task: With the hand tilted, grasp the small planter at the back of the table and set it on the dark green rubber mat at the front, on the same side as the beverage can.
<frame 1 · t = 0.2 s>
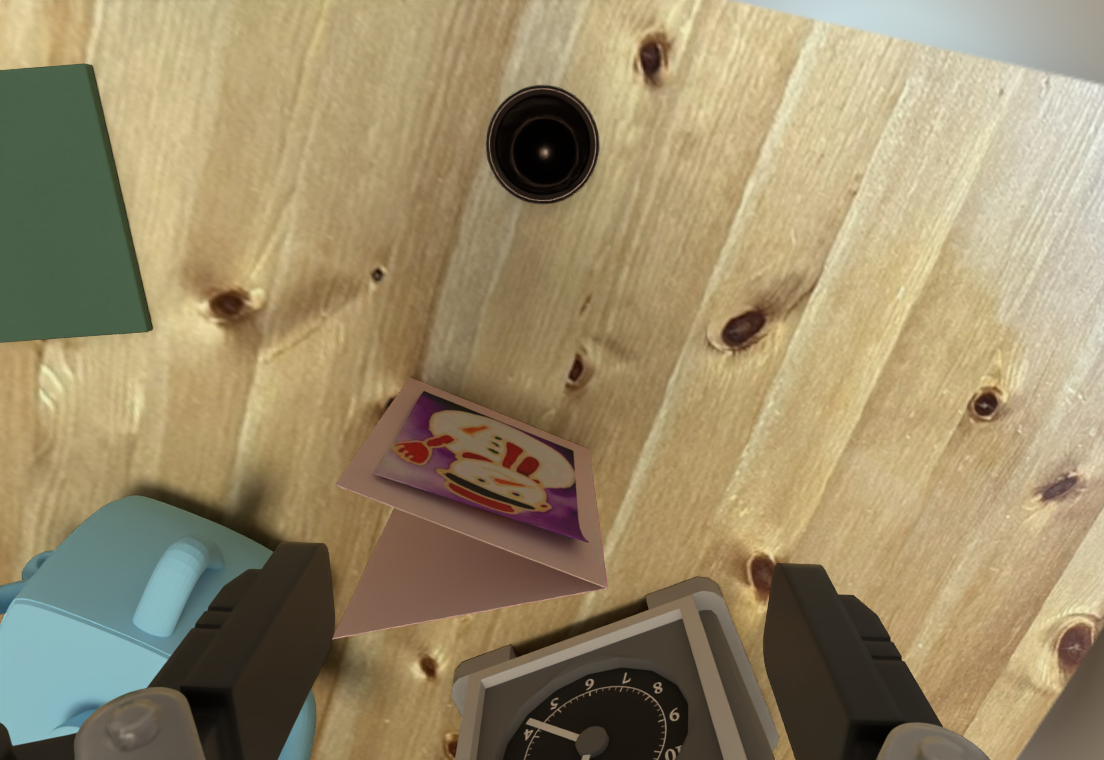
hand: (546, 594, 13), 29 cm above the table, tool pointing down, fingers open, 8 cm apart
greeting card: (483, 454, 44), on the table
teapot: (233, 602, 46), on the table
green mat: (15, 212, 39), on the table
planter: (545, 152, 39), on the table
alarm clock: (614, 697, 48), on the table
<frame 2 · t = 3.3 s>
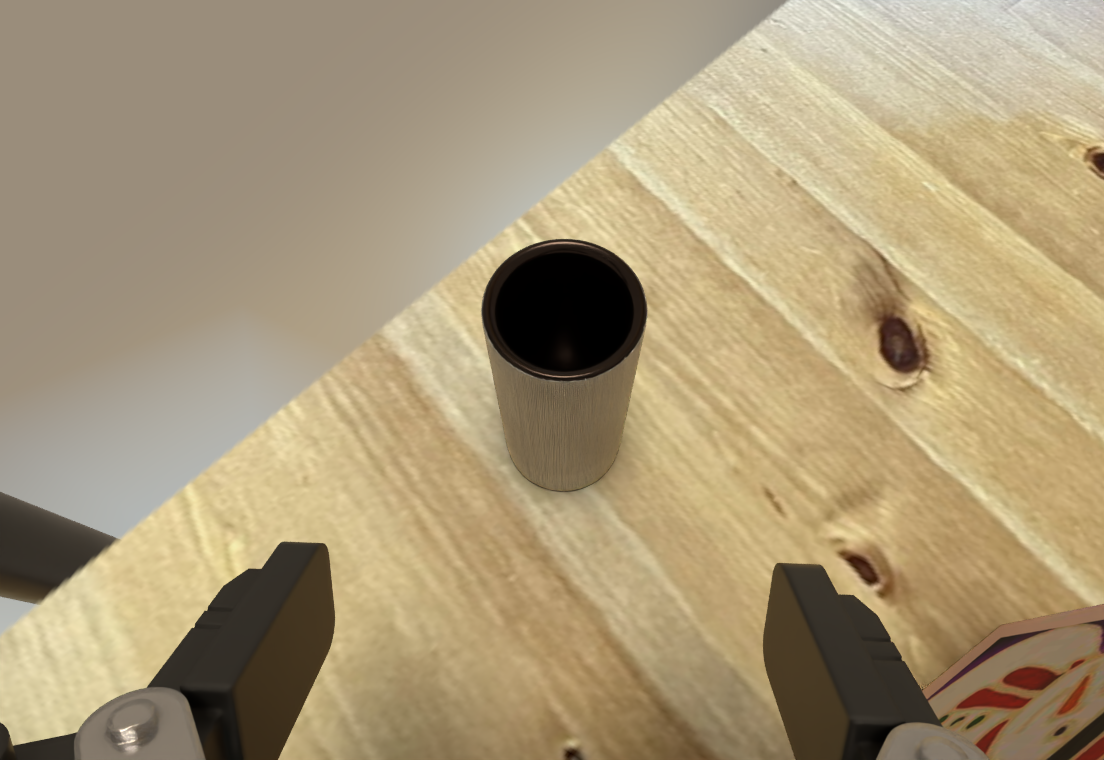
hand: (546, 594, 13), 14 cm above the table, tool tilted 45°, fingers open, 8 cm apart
planter: (563, 439, 29), on the table
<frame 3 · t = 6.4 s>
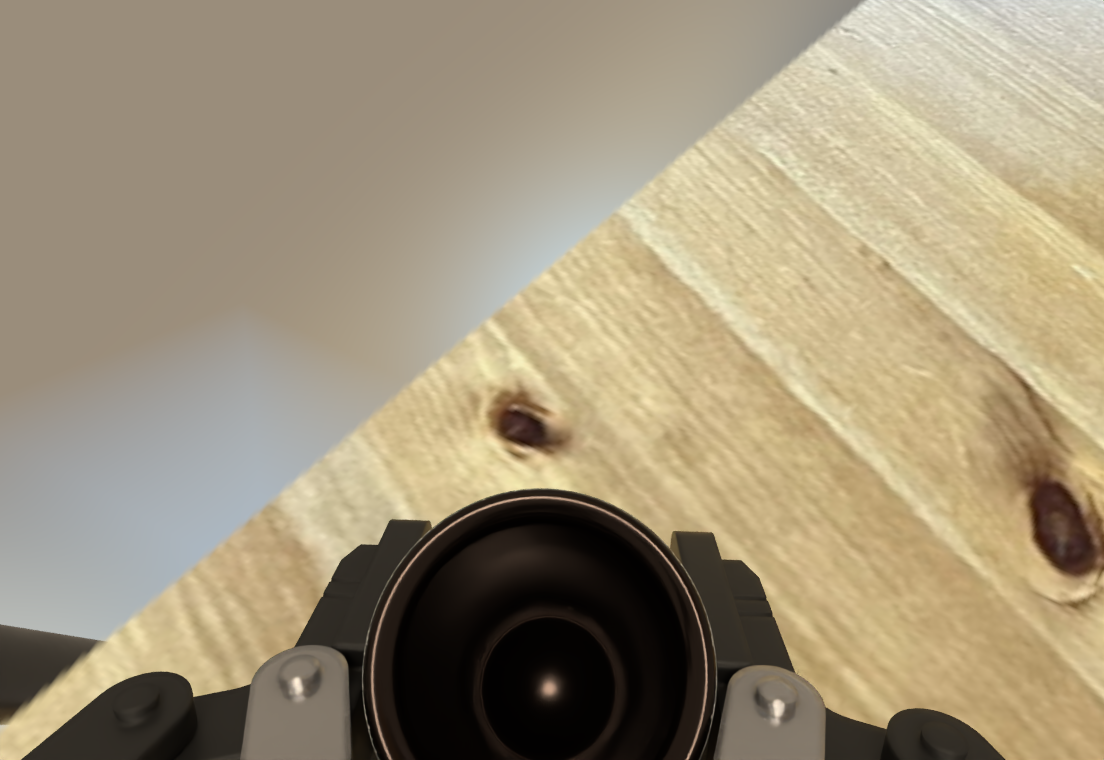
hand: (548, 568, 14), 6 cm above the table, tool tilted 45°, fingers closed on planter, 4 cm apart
planter: (549, 688, 19), on the table, touching gripper
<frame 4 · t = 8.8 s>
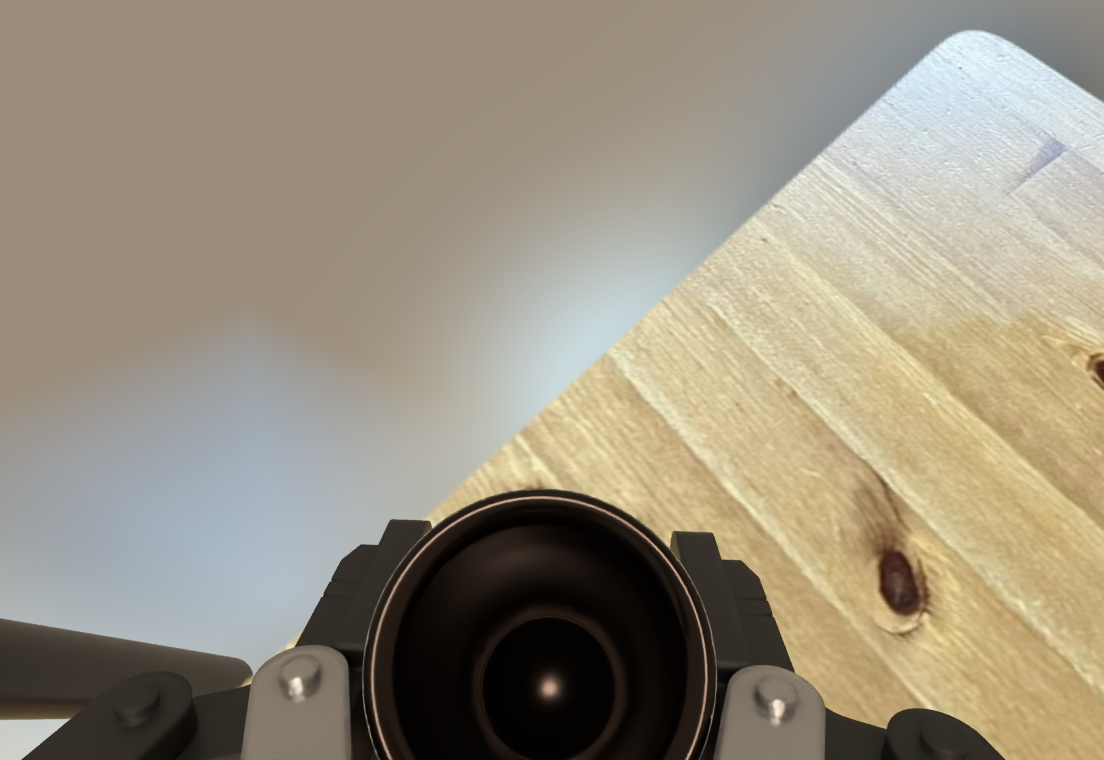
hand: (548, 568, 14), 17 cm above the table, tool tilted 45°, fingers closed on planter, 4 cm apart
planter: (549, 688, 19), point 11 cm above the table, touching gripper
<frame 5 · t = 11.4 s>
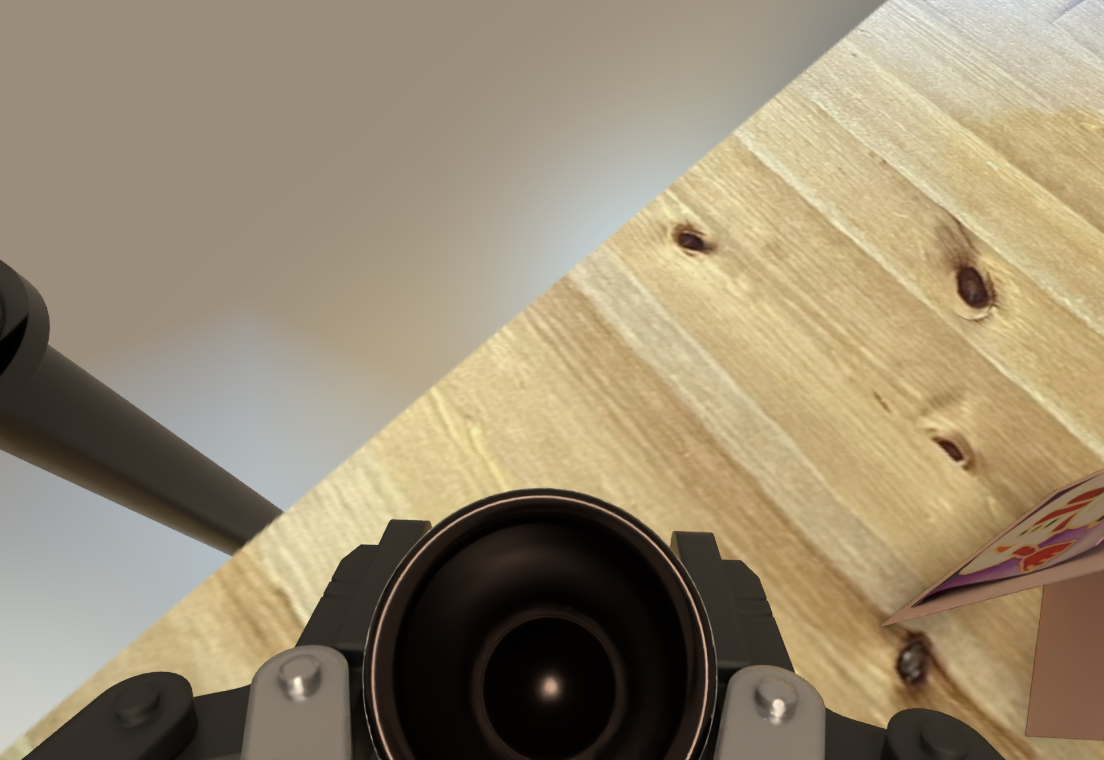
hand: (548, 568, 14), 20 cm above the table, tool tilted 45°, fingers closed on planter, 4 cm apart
greeting card: (1016, 609, 33), on the table
planter: (549, 687, 19), point 14 cm above the table, touching gripper
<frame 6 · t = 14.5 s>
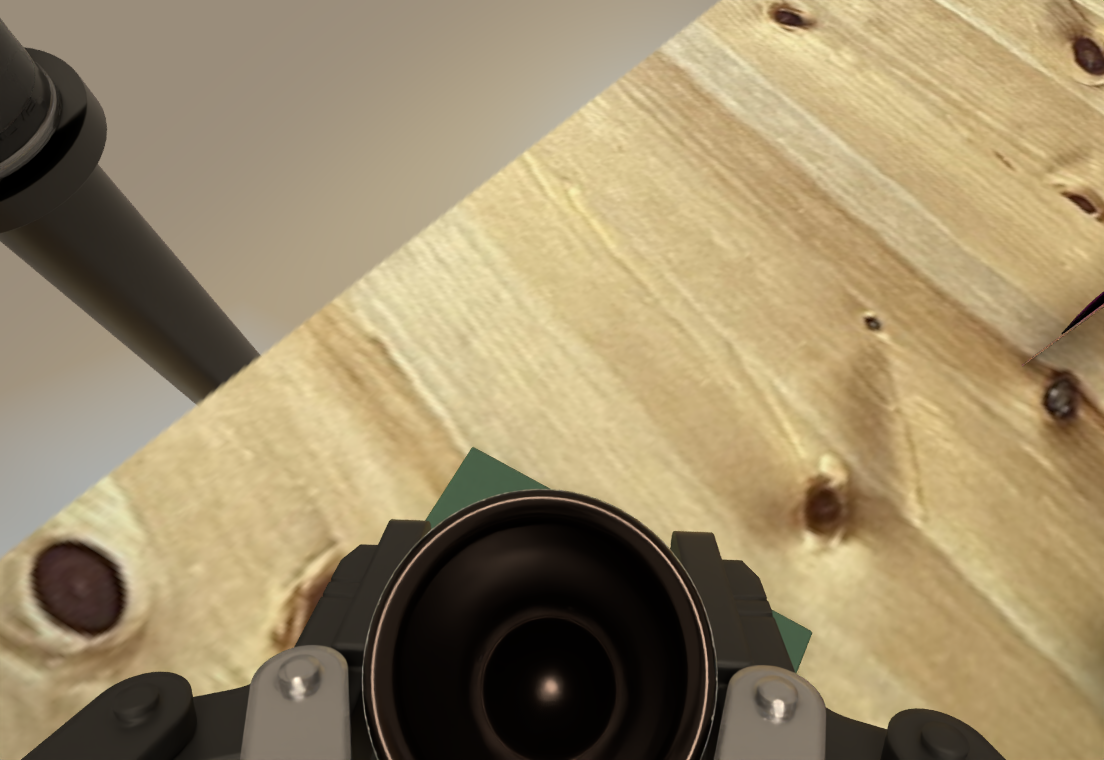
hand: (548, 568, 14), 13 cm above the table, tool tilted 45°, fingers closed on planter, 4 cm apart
green mat: (553, 688, 25), on the table
planter: (549, 688, 19), point 7 cm above the table, touching gripper
when the fingers open (7 cm above the table, at t = 16.7 s): planter stays where it is, resting on green mat.
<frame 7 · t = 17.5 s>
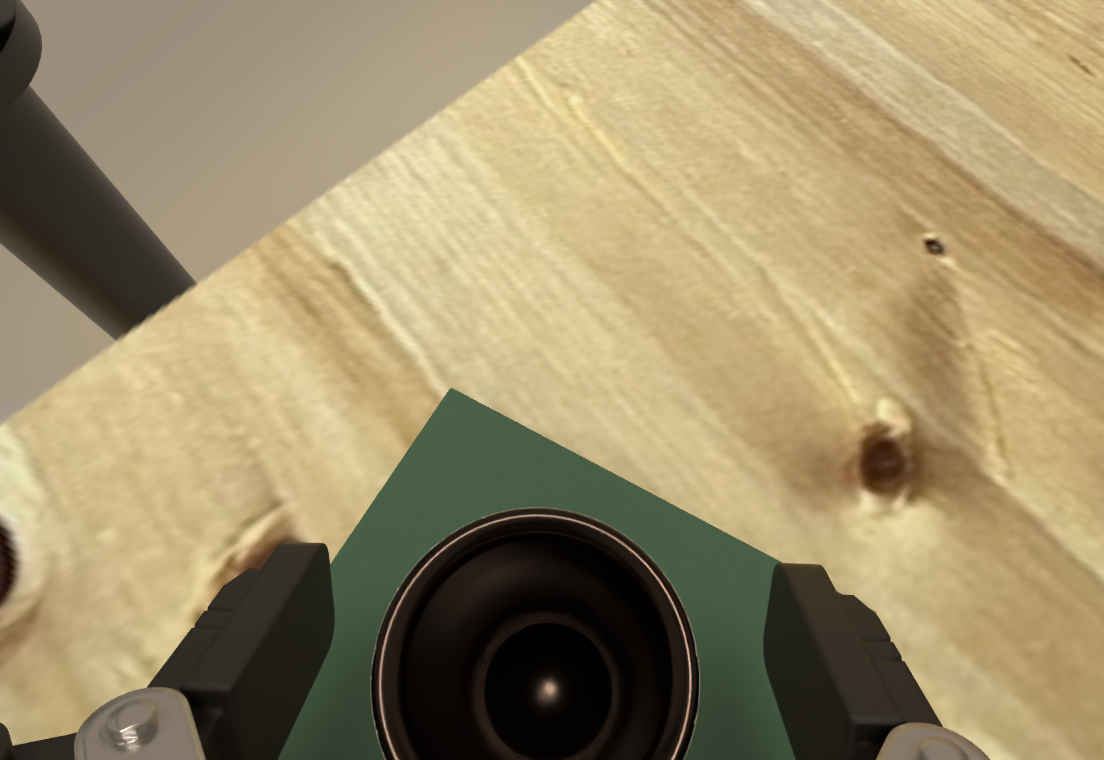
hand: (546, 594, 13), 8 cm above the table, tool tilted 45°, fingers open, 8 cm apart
green mat: (549, 683, 20), on the table
planter: (548, 690, 19), resting on green mat
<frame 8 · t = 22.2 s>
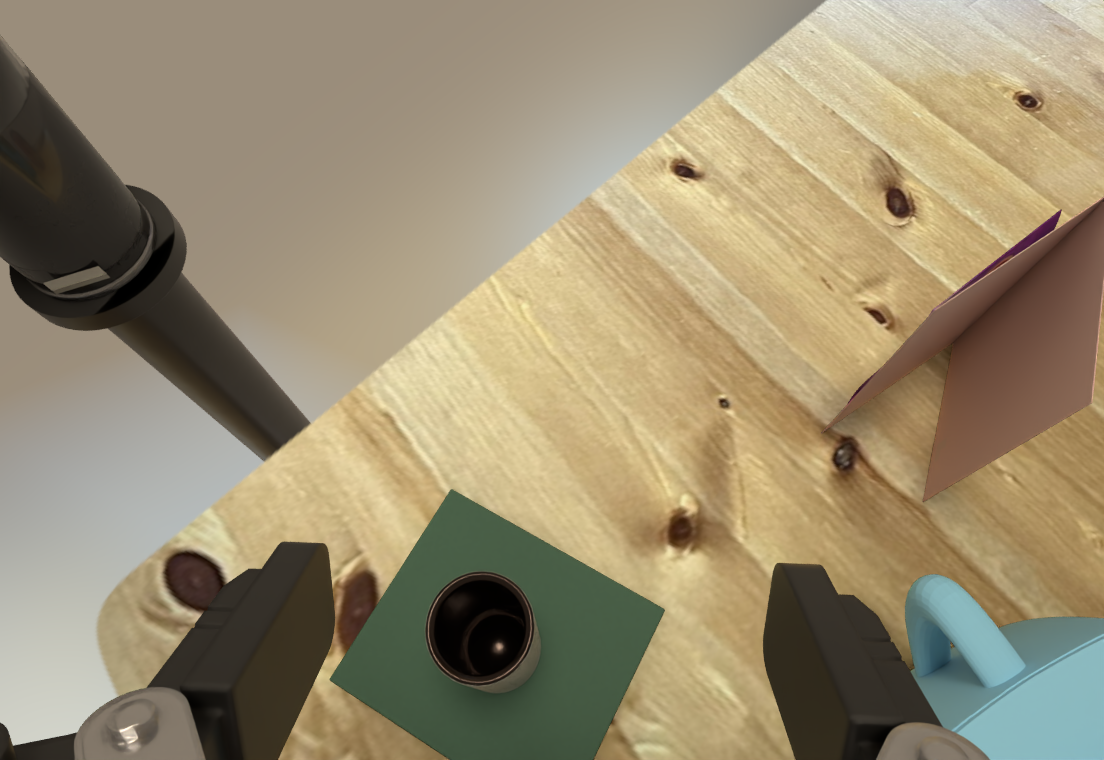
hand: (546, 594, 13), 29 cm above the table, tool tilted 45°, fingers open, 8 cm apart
greeting card: (920, 422, 45), on the table
green mat: (500, 645, 40), on the table
planter: (499, 648, 39), resting on green mat
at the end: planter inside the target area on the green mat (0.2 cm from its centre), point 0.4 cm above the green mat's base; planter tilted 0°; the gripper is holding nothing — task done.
